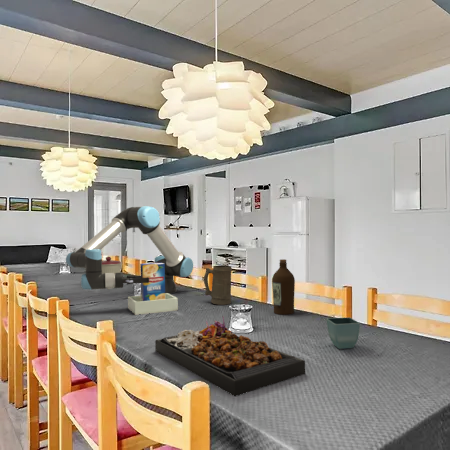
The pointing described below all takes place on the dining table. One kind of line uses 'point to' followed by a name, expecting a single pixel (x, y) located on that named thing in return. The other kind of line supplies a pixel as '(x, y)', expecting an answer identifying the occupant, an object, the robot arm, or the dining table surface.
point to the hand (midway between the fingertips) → (162, 278)
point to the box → (152, 305)
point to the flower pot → (343, 332)
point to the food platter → (229, 359)
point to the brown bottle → (283, 290)
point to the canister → (111, 266)
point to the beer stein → (219, 284)
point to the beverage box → (153, 281)
